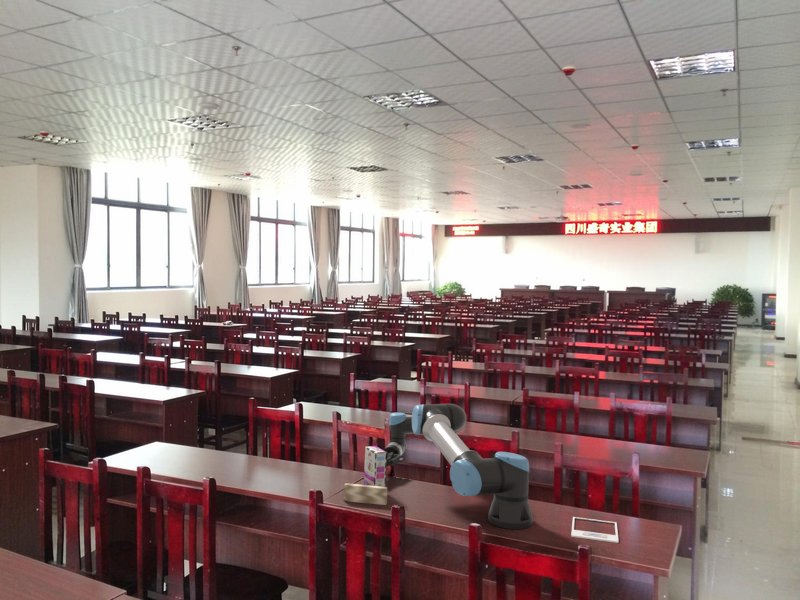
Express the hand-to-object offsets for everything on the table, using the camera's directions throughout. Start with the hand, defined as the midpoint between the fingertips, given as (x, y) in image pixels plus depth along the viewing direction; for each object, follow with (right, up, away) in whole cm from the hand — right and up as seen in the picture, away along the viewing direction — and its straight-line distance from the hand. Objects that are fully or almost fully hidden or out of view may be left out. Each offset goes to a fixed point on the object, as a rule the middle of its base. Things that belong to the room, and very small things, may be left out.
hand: (379, 467), depth 255 cm
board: (-5, -7, -21) cm, 23 cm away
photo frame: (+74, -11, -42) cm, 86 cm away
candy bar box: (-2, -7, -7) cm, 11 cm away
